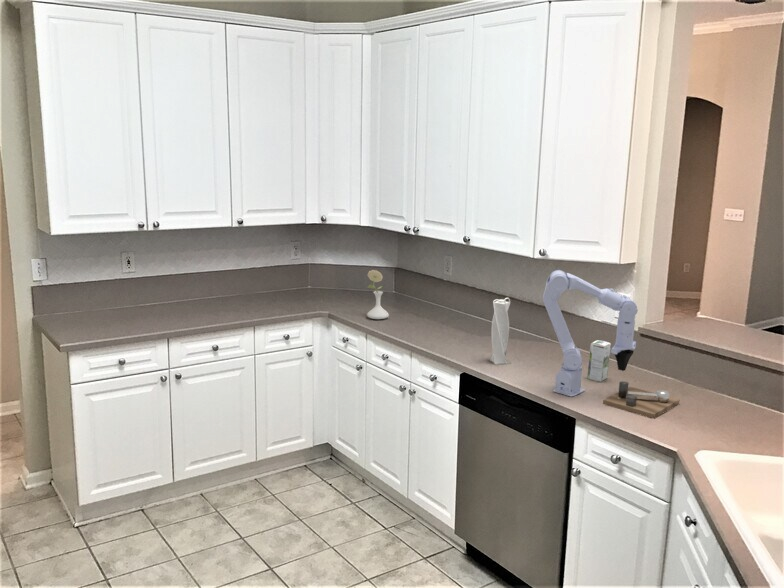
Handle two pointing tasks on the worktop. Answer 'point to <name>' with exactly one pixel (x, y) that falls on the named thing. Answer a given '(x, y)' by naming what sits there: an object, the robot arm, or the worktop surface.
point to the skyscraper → (500, 331)
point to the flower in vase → (377, 310)
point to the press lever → (660, 396)
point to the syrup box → (599, 360)
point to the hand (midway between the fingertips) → (621, 369)
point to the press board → (640, 404)
